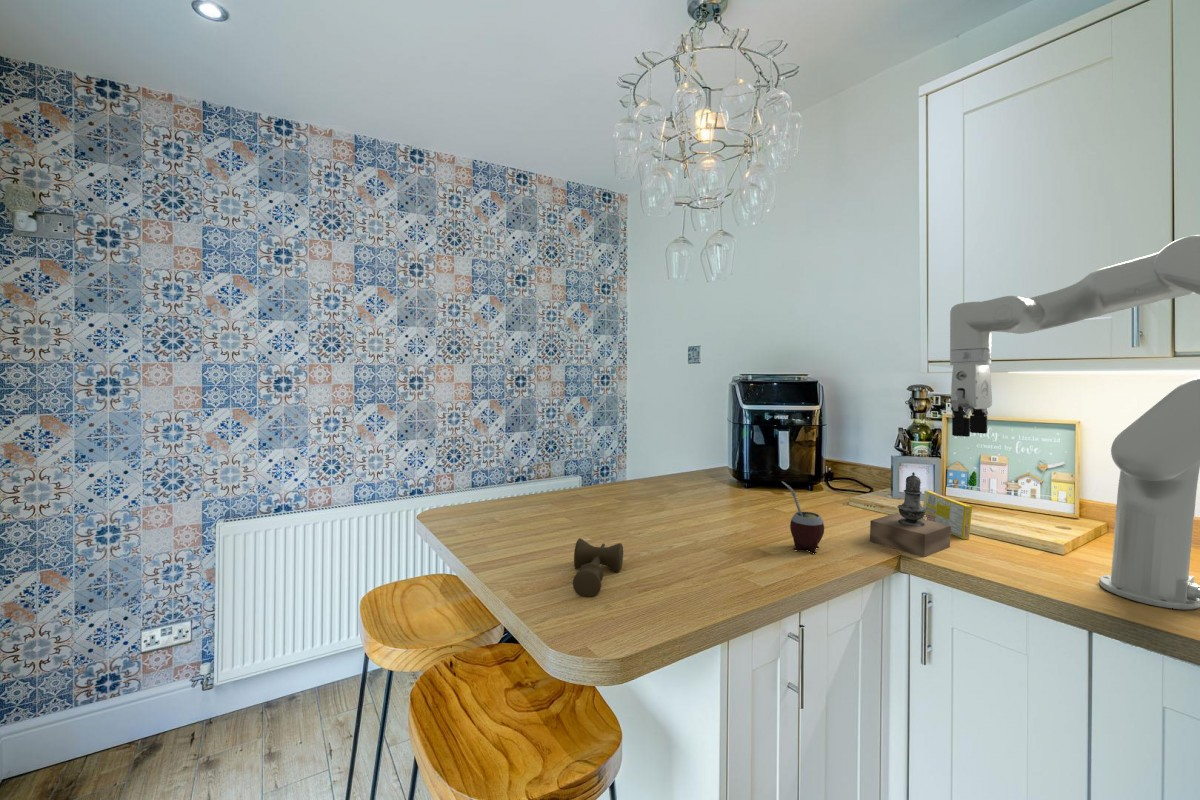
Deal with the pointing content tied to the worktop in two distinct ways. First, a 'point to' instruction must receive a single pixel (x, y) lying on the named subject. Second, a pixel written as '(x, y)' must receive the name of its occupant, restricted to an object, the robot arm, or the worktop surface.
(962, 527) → the candy box
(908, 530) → the walnut block
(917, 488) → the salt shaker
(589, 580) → the kendama
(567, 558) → the worktop surface
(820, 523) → the mate gourd
